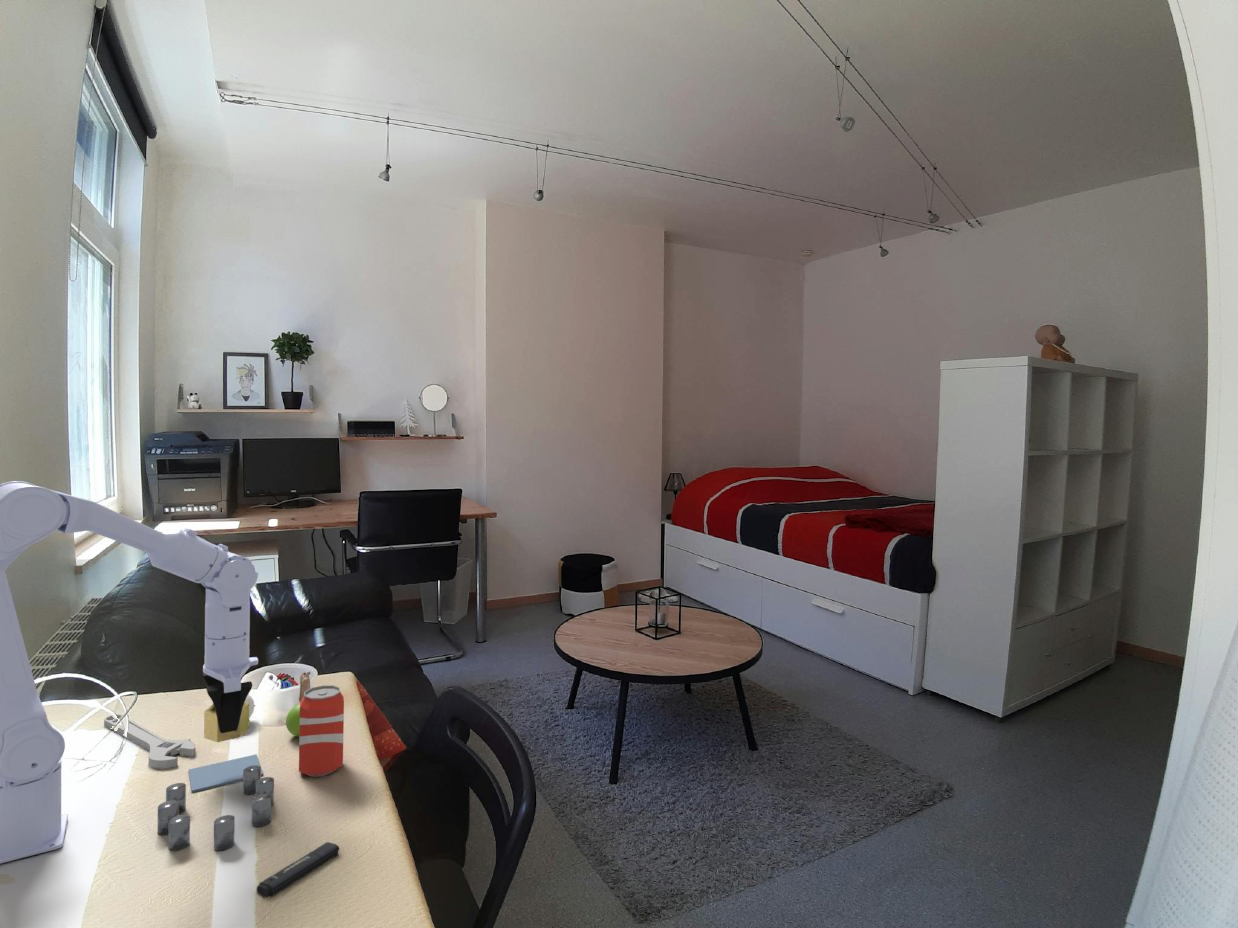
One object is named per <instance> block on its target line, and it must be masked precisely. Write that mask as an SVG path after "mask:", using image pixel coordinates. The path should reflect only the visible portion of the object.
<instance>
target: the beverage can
mask: <svg viewBox="0 0 1238 928" xmlns="http://www.w3.org/2000/svg"><path fill="white" fill-rule="evenodd" d="M299 704H300V729H299V736H298V737H299V739H298V743H299V744H298V747H299V748H298V772H301V773H302V774H305V775H306V776H309V777H324V776H326V775H329V774H332V773H333V772H335V771H337V769H338V768H340V767H341V766H342V765H344V721H345V720H344V719H345V718H344V717H345V714H344V713H345V699H344V695H343V694H342V692H341V687H339V686H336V685H332V684H331V685H329V684H328V685H318V686H313V687H310V689H308V690H307V691H305V692H304V697H303V699H302V700H301V702H299Z"/></svg>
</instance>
